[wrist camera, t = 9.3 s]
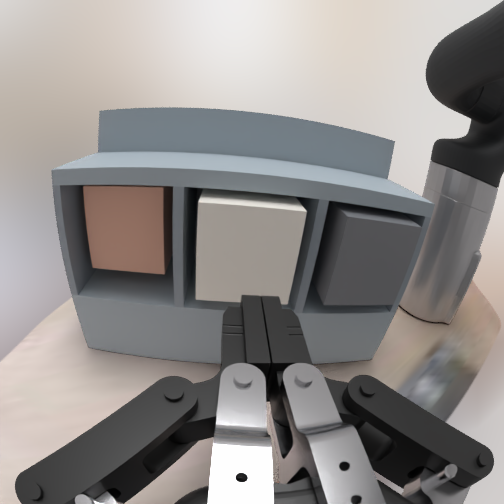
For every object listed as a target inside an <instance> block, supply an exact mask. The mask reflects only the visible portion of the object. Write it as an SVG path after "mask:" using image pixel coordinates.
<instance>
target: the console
mask: <svg viewBox="0 0 504 504" xmlns="http://www.w3.org/2000/svg"><path fill="white" fill-rule="evenodd" d="M98 142H99V143H98V153H95V154H92V155H89V156H86V157H83V158H81V159H78V160H75V161H73V162H70V163H67V164H65V165H62V166H60V167H57V168H55V169H52V184H53V196H54V205H55V212H56V221H57V227H58V234H59V240H60V245H61V250H62V256H63V260H64V265H65V269H66V274H67V278H68V282H69V286H70V290H71V294H72V298H73V301H74V305H75V308H76V311H77V315H78V318H79V321H80V324H81V327H82V330H83V333H84V336H85V339H86V342H87V344H88V347H89V348H94V349H99V350H105V351H110V352H116V353H122V354H129V355H136V356H143V357H150V358H159V359H167V360H177V361H188V362H201V363H217V364H221V337H222V321H223V314H224V312H225V311H226V309H227V308H228V306H229V307H240V302H223V301H208V300H196V246H197V218H198V202H199V199H200V196H201V194H202V191H203V188H211V189H225V190H237V191H249V192H260V193H270V194H279V195H289V196H295V197H296V198H297V199H298V201H299V202H300V203H301V205H302V206H303V207H304V208H305V210H306V211H307V214H306V219H305V224H304V230H303V235H302V240H301V245H300V250H299V254H298V259H297V264H296V269H295V273H294V278H293V282H292V287H291V291H290V296H289V300H288V304H281V306H282V309H292V311H293V312H294V313H295V314H296V315H297V316H298V318H299V321H300V324H301V328H302V331H303V336H304V337H305V341H306V344H307V347H308V351H309V354H310V357H311V361H312V364H322V363H338V362H350V361H361V360H371V359H372V358H373V356H374V354H375V352H376V350H377V349H378V347H379V345H380V343H381V341H382V339H383V337H384V335H385V333H386V331H387V329H388V327H389V325H390V323H391V321H392V319H393V317H394V315H395V312H396V310H397V308H398V306H399V304H400V301H401V299H402V297H403V294H404V292H405V290H406V287H407V285H408V282H409V280H410V277H411V275H412V272H413V270H414V267H415V265H416V262H417V259H418V256H419V254H420V251H421V248H422V245H423V242H424V239H425V236H426V233H427V230H428V227H429V223H430V220H431V217H432V213H433V210H434V206H435V204H434V203H432V202H430V201H429V200H427V199H425V198H423V197H421V196H420V195H418V194H416V193H414V192H412V191H410V190H408V189H406V188H404V187H402V186H400V185H398V184H396V183H394V182H392V181H390V180H388V179H387V178H388V174H389V169H390V164H391V159H392V154H393V149H394V143H395V141H392V140H388V139H385V138H381V137H378V136H375V135H371V134H367V133H363V132H360V131H356V130H351V129H347V128H343V127H339V126H334V125H329V124H324V123H320V122H314V121H308V120H303V119H298V118H291V117H285V116H278V115H271V114H263V113H254V112H245V111H234V110H221V109H204V108H133V109H116V110H104V111H100V114H99V137H98ZM85 185H150V186H173V254H172V257H171V259H170V262H169V265H168V267H167V270H166V273H165V274H153V273H141V272H130V271H119V270H109V269H99V268H93V266H92V261H91V255H90V248H89V241H88V234H87V226H86V217H85V206H84V193H83V186H85ZM329 201H336V202H343V203H350V204H357V205H363V206H369V207H376V208H382V209H387V210H393V211H399V212H401V213H402V214H404V215H405V216H407V217H408V218H410V219H411V220H412V221H414V222H415V223H417V224H418V225H419V226H421V227H422V230H421V233H420V236H419V239H418V242H417V245H416V248H415V251H414V254H413V257H412V259H411V262H410V265H409V268H408V270H407V273H406V275H405V278H404V280H403V283H402V285H401V288H400V290H399V293H398V295H397V297H396V300H395V302H394V304H393V305H323V303H322V301H321V298H320V296H319V294H318V292H317V290H316V287H315V285H314V283H313V281H312V279H311V278H312V274H313V270H314V266H315V262H316V258H317V253H318V249H319V245H320V240H321V236H322V232H323V227H324V222H325V218H326V213H327V208H328V203H329Z"/></svg>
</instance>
